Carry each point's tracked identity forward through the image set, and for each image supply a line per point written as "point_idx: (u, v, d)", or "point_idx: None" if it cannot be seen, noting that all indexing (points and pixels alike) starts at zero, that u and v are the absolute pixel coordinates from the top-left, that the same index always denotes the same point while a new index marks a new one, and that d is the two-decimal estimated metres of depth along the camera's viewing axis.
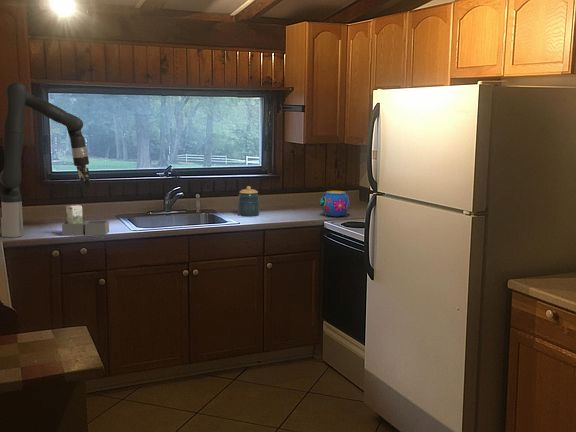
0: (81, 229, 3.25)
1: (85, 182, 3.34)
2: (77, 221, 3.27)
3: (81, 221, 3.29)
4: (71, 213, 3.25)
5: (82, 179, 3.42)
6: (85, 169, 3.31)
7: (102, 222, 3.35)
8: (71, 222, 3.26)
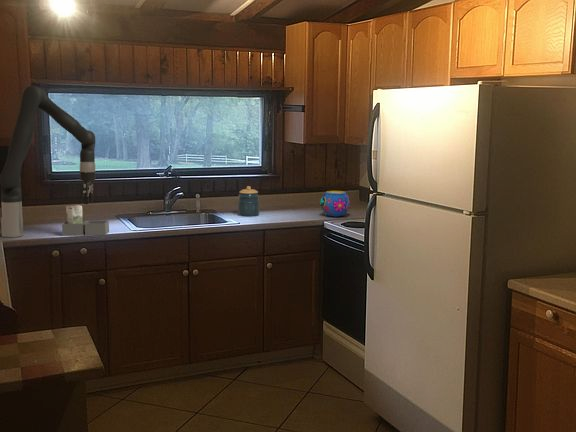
0: (81, 229, 3.25)
1: (84, 198, 3.23)
2: (77, 221, 3.27)
3: (81, 221, 3.29)
4: (71, 213, 3.25)
5: (89, 195, 3.31)
6: (84, 185, 3.20)
7: (102, 222, 3.35)
8: (71, 222, 3.26)
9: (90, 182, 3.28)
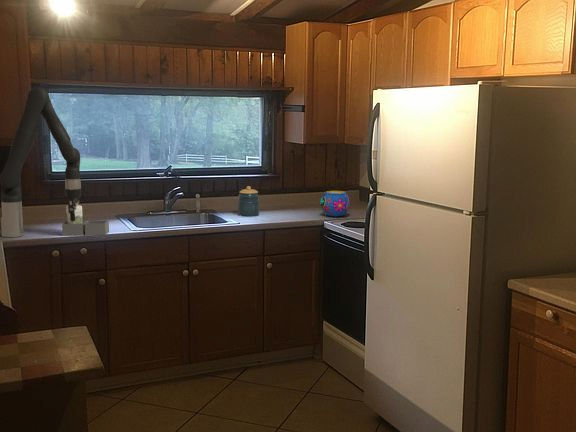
0: (81, 229, 3.25)
1: (70, 215, 3.24)
2: (77, 221, 3.27)
3: (81, 221, 3.29)
4: None
5: None
6: (70, 202, 3.21)
7: (102, 222, 3.35)
8: (71, 222, 3.26)
9: (76, 199, 3.29)
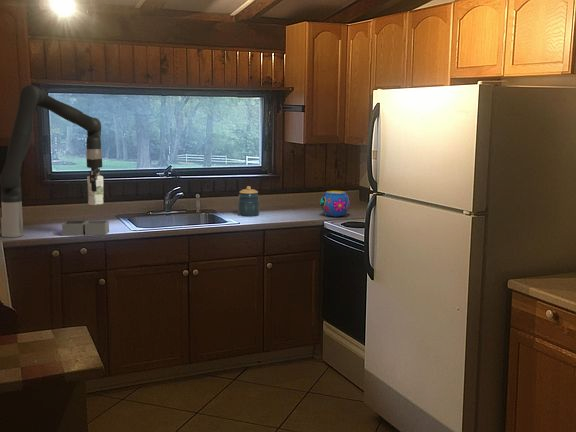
0: (81, 229, 3.25)
1: None
2: (98, 191, 3.26)
3: (102, 191, 3.28)
4: None
5: None
6: (91, 172, 3.19)
7: (102, 222, 3.35)
8: (92, 192, 3.25)
9: (97, 169, 3.27)
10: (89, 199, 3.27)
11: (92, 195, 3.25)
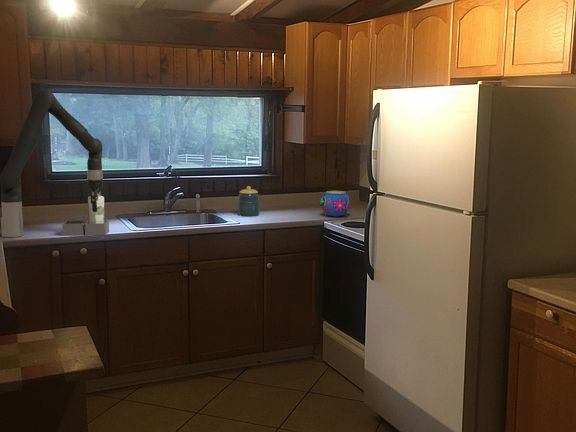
0: (81, 229, 3.25)
1: (92, 206, 3.24)
2: (99, 212, 3.28)
3: (103, 212, 3.29)
4: None
5: None
6: (92, 193, 3.21)
7: None
8: (93, 212, 3.26)
9: (98, 190, 3.29)
10: (90, 219, 3.29)
11: (93, 216, 3.27)
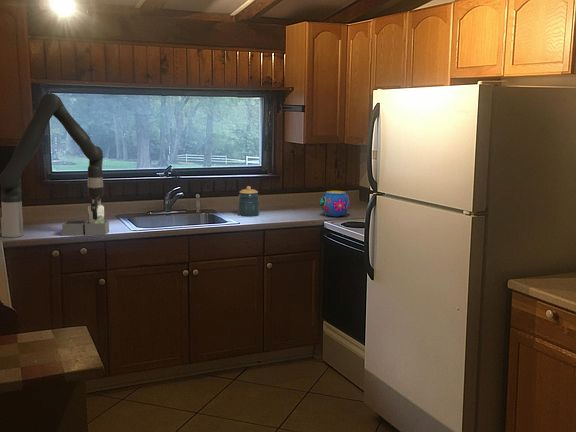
0: (81, 229, 3.25)
1: (93, 213, 3.25)
2: (99, 221, 3.28)
3: (103, 221, 3.30)
4: None
5: None
6: (92, 200, 3.22)
7: None
8: (93, 222, 3.27)
9: (98, 197, 3.30)
10: None
11: None
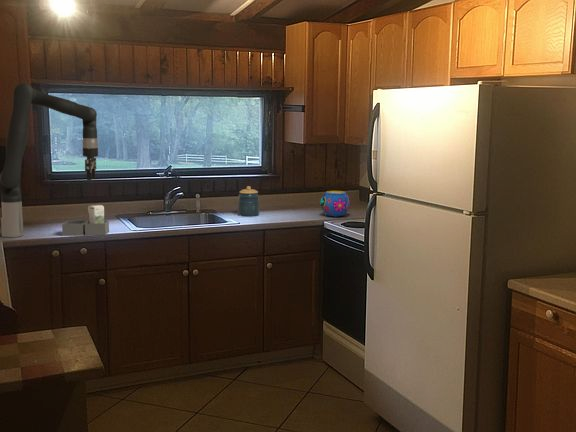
0: (81, 229, 3.25)
1: (87, 174, 3.27)
2: (99, 221, 3.28)
3: (103, 221, 3.30)
4: (93, 213, 3.26)
5: (92, 171, 3.35)
6: (87, 160, 3.24)
7: None
8: (93, 222, 3.27)
9: (93, 158, 3.32)
10: None
11: None
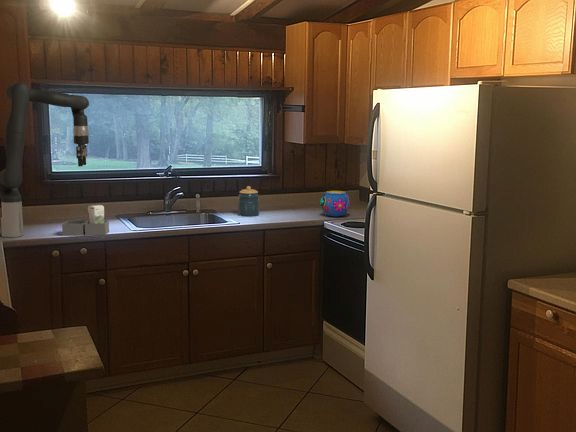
0: (81, 229, 3.25)
1: None
2: (99, 221, 3.28)
3: (103, 221, 3.30)
4: (93, 213, 3.26)
5: (83, 158, 3.46)
6: (78, 147, 3.34)
7: None
8: (93, 222, 3.27)
9: (84, 146, 3.42)
10: None
11: None
